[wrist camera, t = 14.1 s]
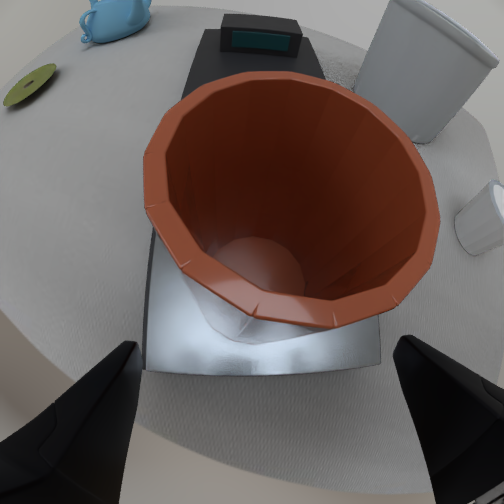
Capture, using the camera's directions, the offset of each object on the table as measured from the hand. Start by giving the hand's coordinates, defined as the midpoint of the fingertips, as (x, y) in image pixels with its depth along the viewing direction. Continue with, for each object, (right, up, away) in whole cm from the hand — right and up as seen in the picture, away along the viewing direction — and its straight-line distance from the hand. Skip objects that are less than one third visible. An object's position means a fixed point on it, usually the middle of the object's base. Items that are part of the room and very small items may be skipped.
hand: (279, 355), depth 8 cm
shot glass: (+25, +5, +16) cm, 30 cm away
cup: (-1, +1, +9) cm, 9 cm away
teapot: (-26, +47, +27) cm, 60 cm away
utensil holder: (+20, +23, +23) cm, 38 cm away
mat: (-38, +30, +19) cm, 53 cm away
